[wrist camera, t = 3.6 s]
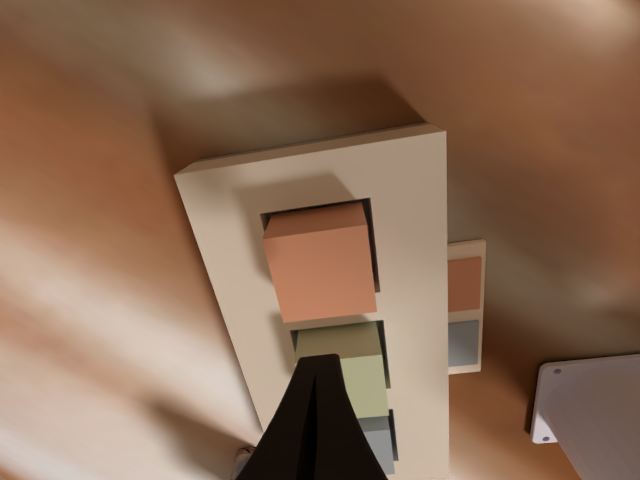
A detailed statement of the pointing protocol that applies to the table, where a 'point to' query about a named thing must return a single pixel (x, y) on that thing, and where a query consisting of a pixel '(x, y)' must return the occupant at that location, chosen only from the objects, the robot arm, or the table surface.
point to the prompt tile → (465, 304)
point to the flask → (241, 461)
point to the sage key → (352, 362)
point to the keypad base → (386, 257)
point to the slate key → (379, 440)
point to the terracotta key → (321, 262)
